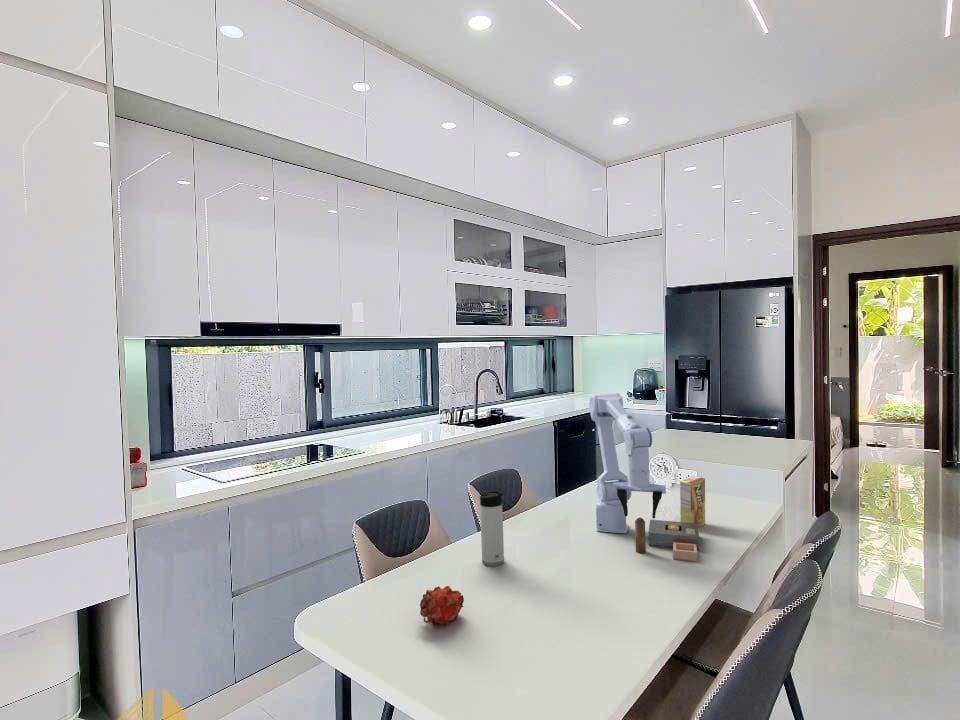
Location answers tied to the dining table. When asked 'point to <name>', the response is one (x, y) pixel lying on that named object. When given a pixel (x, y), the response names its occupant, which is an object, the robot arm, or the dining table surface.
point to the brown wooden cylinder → (640, 536)
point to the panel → (672, 533)
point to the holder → (684, 551)
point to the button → (673, 527)
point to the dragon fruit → (441, 605)
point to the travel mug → (492, 528)
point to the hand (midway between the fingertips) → (639, 516)
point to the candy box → (692, 500)
